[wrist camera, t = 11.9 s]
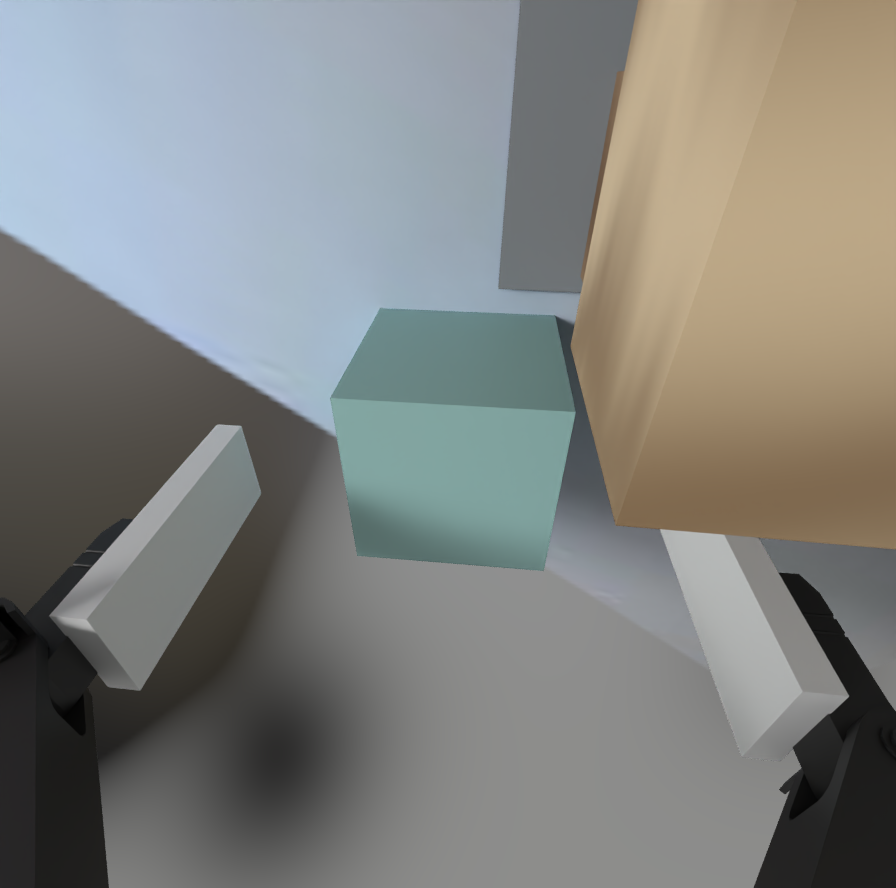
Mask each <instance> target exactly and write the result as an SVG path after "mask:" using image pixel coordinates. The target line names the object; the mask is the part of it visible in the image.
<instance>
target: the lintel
mask: <svg viewBox="0 0 896 888" xmlns="http://www.w3.org/2000/svg"><path fill="white" fill-rule="evenodd" d="M571 350H572V354H573V358H574V362H575V366H576V370H577V374H578V378H579V382H580V386H581V390H582V394H583V398H584V402H585V406H586V410H587V414H588V418H589V422H590V426H591V429H592V433H593V437H594V441H595V445H596V449H597V453H598V457H599V461H600V465H601V469H602V473H603V477H604V481H605V485H606V489H607V493H608V497H609V501H610V505H611V509H612V513H613V517H614V521H615V525H616V526H628V527H640V528H652V529H663V530H675V531H687V532H698V533H710V534H722V535H733V536H745V537H757V538H769V539H780V540H792V541H804V542H815V543H827V544H839V545H851V546H862V547H874V548H886V549H896V0H638V5H637V10H636V15H635V20H634V25H633V30H632V35H631V40H630V45H629V50H628V56H627V61H626V66H625V71H624V76H623V81H622V86H621V91H620V96H619V101H618V107H617V112H616V117H615V122H614V127H613V132H612V137H611V142H610V147H609V152H608V158H607V163H606V168H605V173H604V178H603V183H602V188H601V193H600V198H599V203H598V209H597V214H596V219H595V224H594V229H593V234H592V239H591V244H590V249H589V254H588V260H587V265H586V270H585V275H584V280H583V285H582V290H581V295H580V300H579V305H578V310H577V316H576V321H575V326H574V331H573V336H572V341H571Z"/></svg>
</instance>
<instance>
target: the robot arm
mask: <svg viewBox="0 0 896 888" xmlns="http://www.w3.org/2000/svg"><path fill="white" fill-rule="evenodd" d="M260 495H261V491H260V487H259V484H258V481H257V477H256V474H255V471H254V467H253V464H252V461H251V457H250V454H249V450H248V447H247V444H246V440H245V437H244V434H243V430H242V427H241V426H231V425H216V426H215V428H214V429H213V430H212V431H211V432H210V433H209V434H208V436H207V437H206V438H205V439H204V440H203V441H202V442H201V444H200V445H199V446H198V447H197V448H196V449H195V450H194V452H193V453H192V454H191V455H190V456H189V457H188V458H187V460H186V461H185V462H184V463H183V464H182V465H181V466H180V468H179V469H178V470H177V471H176V472H175V473H174V474H173V475H172V477H171V478H170V479H169V480H168V481H167V482H166V484H164V486H163V487H162V488H161V489H160V490H159V492H157V494H156V495H155V496H154V497H153V498H152V499H151V500H150V502H149V503H148V504H147V505H146V506H145V507H144V508H143V510H142V511H141V512H140V513H139V514H138V515H137V516H136V518H135V519H121V520H120V521H119V522H117V523H115V524H114V525H112V526H111V527H109V528H108V529H106V530H105V531H103V532H102V533H101V534H100V535H99V536H98V537H97V538H96V539H95V540H94V541H93V542H92V543H91V545H90V546H89V547H88V548H87V549H86V552H85V553H82V554H81V555H80V556H79V558H78V559H77V560H76V561H75V562H74V563H73V564H74V565H73V566H72V567H69V568H68V569H67V570H66V572H65V573H64V574H63V575H62V576H61V577H60V578H59V579H58V580H57V581H56V582H55V583H54V584H53V586H52V587H51V588H50V589H49V590H48V591H47V592H46V593H45V594H44V595H43V596H42V598H40V600H39V601H38V602H37V603H36V604H35V605H34V606H33V607H32V608H31V609H30V610H29V612H28V613H27V614H26V615H25V616H24V615H23V613H22V612H21V611H20V610H19V609H18V608H17V607H16V606H15V604H14V603H13V602H12V601H9V600H7V599H5V598H0V888H109V884H108V873H107V861H106V851H105V838H104V827H103V815H102V805H101V793H100V782H99V770H98V758H97V746H96V735H95V723H94V712H93V702H92V701H93V700H92V695H91V693H90V690H89V688H88V686H89V685H90V683H91V682H92V680H93V679H94V677H95V676H96V675H97V674H98V675H99V677H100V678H101V679H102V680H103V681H104V682H105V684H106V685H107V686H108V687H113V688H122V689H131V690H141V688H142V687H143V685H144V683H145V681H146V680H147V678H148V677H149V675H150V674H151V672H152V670H153V668H154V667H155V665H156V663H157V662H158V661H159V659H160V657H161V656H162V654H163V652H164V651H165V649H166V647H167V646H168V644H169V642H170V641H171V639H172V638H173V636H174V635H175V633H176V631H177V630H178V628H179V626H180V625H181V623H182V622H183V620H184V618H185V617H186V615H187V613H188V612H189V610H190V609H191V607H192V605H193V603H194V602H195V600H196V599H197V597H198V596H199V594H200V592H201V590H202V589H203V587H204V586H205V584H206V583H207V581H208V579H209V578H210V576H211V574H212V573H213V571H214V570H215V568H216V566H217V564H218V563H219V561H220V560H221V558H222V556H223V555H224V553H225V552H226V550H227V548H228V547H229V545H230V543H231V542H232V540H233V539H234V537H235V535H236V534H237V532H238V530H239V529H240V527H241V526H242V524H243V522H244V520H245V519H246V517H247V516H248V514H249V513H250V511H251V509H252V508H253V506H254V504H255V503H256V501H257V500H258V498H259V496H260ZM660 531H661V534H662V537H663V539H664V542H665V545H666V548H667V550H668V553H669V556H670V559H671V562H672V564H673V567H674V570H675V573H676V576H677V578H678V581H679V584H680V587H681V590H682V592H683V595H684V598H685V601H686V604H687V606H688V609H689V612H690V615H691V618H692V620H693V623H694V626H695V629H696V632H697V634H698V637H699V640H700V643H701V646H702V648H703V651H704V654H705V657H706V660H707V662H708V665H709V668H710V671H711V674H712V676H713V679H714V682H715V685H716V688H717V690H718V693H719V696H720V699H721V702H722V704H723V707H724V710H725V713H726V716H727V718H728V721H729V724H730V727H731V729H732V732H733V735H734V738H735V741H736V744H737V746H738V749H739V752H740V755H741V757H743V758H753V759H762V760H771V761H781V760H782V759H783V758H784V757H785V756H786V755H787V754H789V753H790V752H791V751H792V750H793V749H794V751H795V754H796V756H797V758H798V761H799V763H800V765H801V767H802V768H801V769H800V770H799V771H798V772H797V773H795V774H794V775H793V776H792V777H791V778H790V779H789V780H787V781H786V782H785V783H784V784H783V786H782V787H781V788H780V789H779V790H780V791H781V792H783V793H784V794H786V793H787V792H788V791H790V792H789V795H788V797H787V800H786V803H785V806H784V808H783V811H782V813H781V816H780V819H779V821H778V824H777V827H776V829H775V832H774V835H773V837H772V840H771V843H770V845H769V848H768V851H767V853H766V856H765V859H764V861H763V864H762V867H761V869H760V872H759V875H758V877H757V880H756V883H755V885H754V888H896V711H895V710H894V709H893V707H892V706H891V705H890V703H889V702H888V700H887V699H886V697H885V696H884V694H883V692H882V691H881V689H880V688H879V686H878V685H877V683H876V681H875V680H874V678H873V677H872V675H871V673H870V672H869V670H868V669H867V667H866V665H865V664H864V662H863V661H862V659H861V658H860V656H859V654H858V653H857V651H856V650H855V648H854V646H853V645H852V643H851V642H850V640H849V639H848V637H845V635H844V634H845V632H844V631H843V629H842V628H841V626H840V624H839V623H838V621H837V620H836V619H834V618H833V613H832V612H831V610H830V609H829V607H828V605H827V604H826V602H825V601H824V599H823V598H822V596H821V594H820V593H819V592H818V591H817V590H816V589H814V588H813V587H812V586H811V585H810V584H809V583H808V582H807V581H806V580H805V579H804V578H803V577H801V576H800V575H799V574H789V573H778V571H777V569H776V568H775V566H774V564H773V562H772V561H771V559H770V557H769V555H768V554H767V552H766V550H765V548H764V547H763V545H762V543H761V541H760V540H759V538H757V537H745V536H733V535H722V534H710V533H698V532H687V531H675V530H663V529H660Z"/></svg>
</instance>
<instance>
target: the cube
mask: <svg viewBox="0 0 896 888" xmlns="http://www.w3.org/2000/svg"><path fill="white" fill-rule="evenodd" d="M330 399H331V405H332V411H333V417H334V423H335V429H336V435H337V440H338V446H339V452H340V458H341V463H342V469H343V475H344V481H345V487H346V493H347V499H348V505H349V510H350V516H351V522H352V528H353V533H354V539H355V545H356V551H357V556H367V557H380V558H391V559H404V560H416V561H428V562H441V563H453V564H466V565H478V566H490V567H503V568H515V569H527V570H540V571H543V570H544V567H545V562H546V557H547V552H548V547H549V542H550V537H551V532H552V527H553V522H554V517H555V512H556V507H557V502H558V497H559V493H560V488H561V483H562V478H563V473H564V468H565V463H566V458H567V453H568V448H569V443H570V438H571V433H572V428H573V423H574V418H575V414H576V411H575V406H574V401H573V397H572V392H571V387H570V383H569V378H568V373H567V369H566V364H565V359H564V355H563V350H562V345H561V341H560V336H559V331H558V327H557V322H556V317H555V316H551V315H527V314H503V313H479V312H455V311H431V310H407V309H383V308H380V310H379V312H378V314H377V315H376V317H375V319H374V321H373V323H372V324H371V326H370V328H369V330H368V331H367V333H366V335H365V337H364V339H363V340H362V342H361V344H360V346H359V348H358V349H357V351H356V353H355V355H354V357H353V358H352V360H351V362H350V364H349V366H348V367H347V369H346V371H345V373H344V374H343V376H342V378H341V380H340V382H339V383H338V385H337V387H336V389H335V391H334V392H333V394H332V396H331V398H330Z"/></svg>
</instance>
